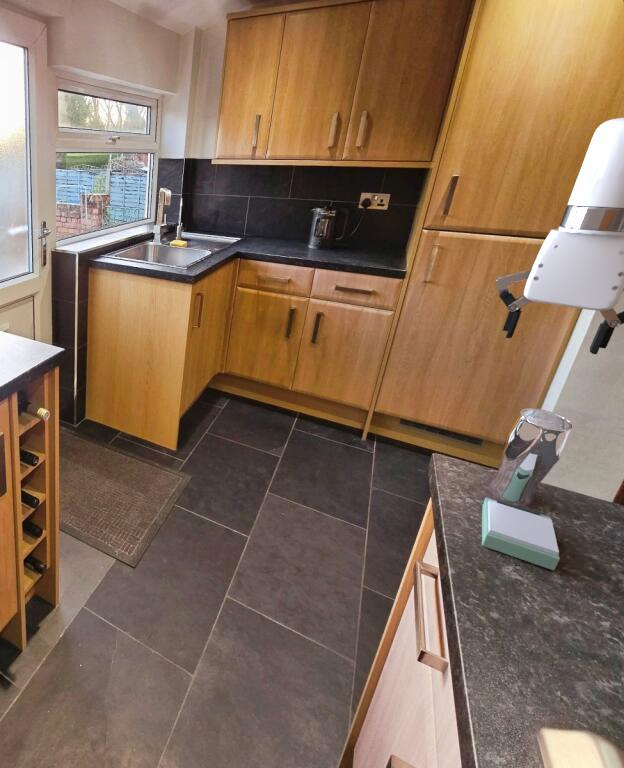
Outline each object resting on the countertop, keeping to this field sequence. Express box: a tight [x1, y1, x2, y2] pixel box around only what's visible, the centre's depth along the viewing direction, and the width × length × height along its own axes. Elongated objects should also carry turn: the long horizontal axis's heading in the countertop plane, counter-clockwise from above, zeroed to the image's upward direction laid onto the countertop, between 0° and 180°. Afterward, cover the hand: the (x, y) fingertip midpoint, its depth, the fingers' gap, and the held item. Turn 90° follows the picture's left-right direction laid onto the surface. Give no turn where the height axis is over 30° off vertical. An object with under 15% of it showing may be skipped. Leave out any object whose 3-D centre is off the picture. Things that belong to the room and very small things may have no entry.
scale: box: [481, 497, 561, 571], centre depth 72 cm, size 11×8×3 cm
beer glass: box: [487, 407, 576, 508], centre depth 78 cm, size 7×7×15 cm
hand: (549, 343), depth 73 cm, fingers open, 9 cm apart
